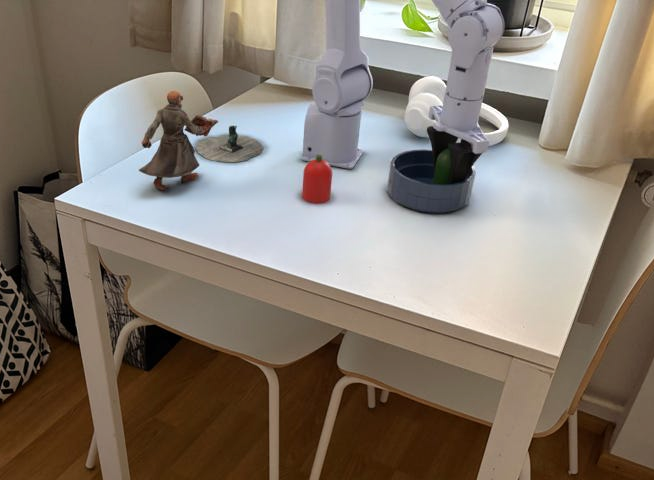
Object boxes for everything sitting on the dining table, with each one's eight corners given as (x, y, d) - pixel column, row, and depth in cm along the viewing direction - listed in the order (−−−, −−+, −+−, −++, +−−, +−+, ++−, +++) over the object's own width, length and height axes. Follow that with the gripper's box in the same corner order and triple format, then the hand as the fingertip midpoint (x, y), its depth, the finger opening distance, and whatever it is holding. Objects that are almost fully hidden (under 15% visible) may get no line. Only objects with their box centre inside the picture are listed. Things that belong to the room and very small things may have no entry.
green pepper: (448, 195, 119) (456, 152, 115) (426, 184, 122) (433, 142, 117) (466, 187, 122) (475, 145, 117) (444, 177, 124) (452, 136, 120)
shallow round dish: (378, 205, 120) (382, 176, 117) (396, 171, 130) (400, 144, 127) (463, 221, 117) (469, 192, 114) (474, 185, 127) (480, 157, 124)
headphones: (398, 140, 140) (503, 164, 138) (408, 99, 134) (518, 123, 133) (406, 104, 155) (501, 125, 153) (416, 65, 149) (514, 87, 148)
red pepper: (296, 194, 122) (298, 153, 117) (318, 188, 124) (321, 147, 119) (313, 206, 119) (316, 164, 114) (335, 199, 121) (339, 157, 117)
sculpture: (266, 139, 139) (265, 118, 131) (258, 185, 138) (256, 166, 130) (203, 129, 140) (198, 108, 132) (194, 175, 138) (189, 156, 130)
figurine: (216, 171, 127) (214, 82, 118) (228, 190, 122) (228, 99, 112) (134, 180, 123) (125, 89, 114) (143, 200, 118) (135, 106, 108)
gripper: (417, 79, 116) (405, 161, 125) (466, 114, 106) (448, 201, 114) (457, 76, 118) (442, 157, 127) (508, 109, 108) (488, 195, 117)
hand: (447, 177), depth 121 cm, fingers closed on green pepper, 5 cm apart
